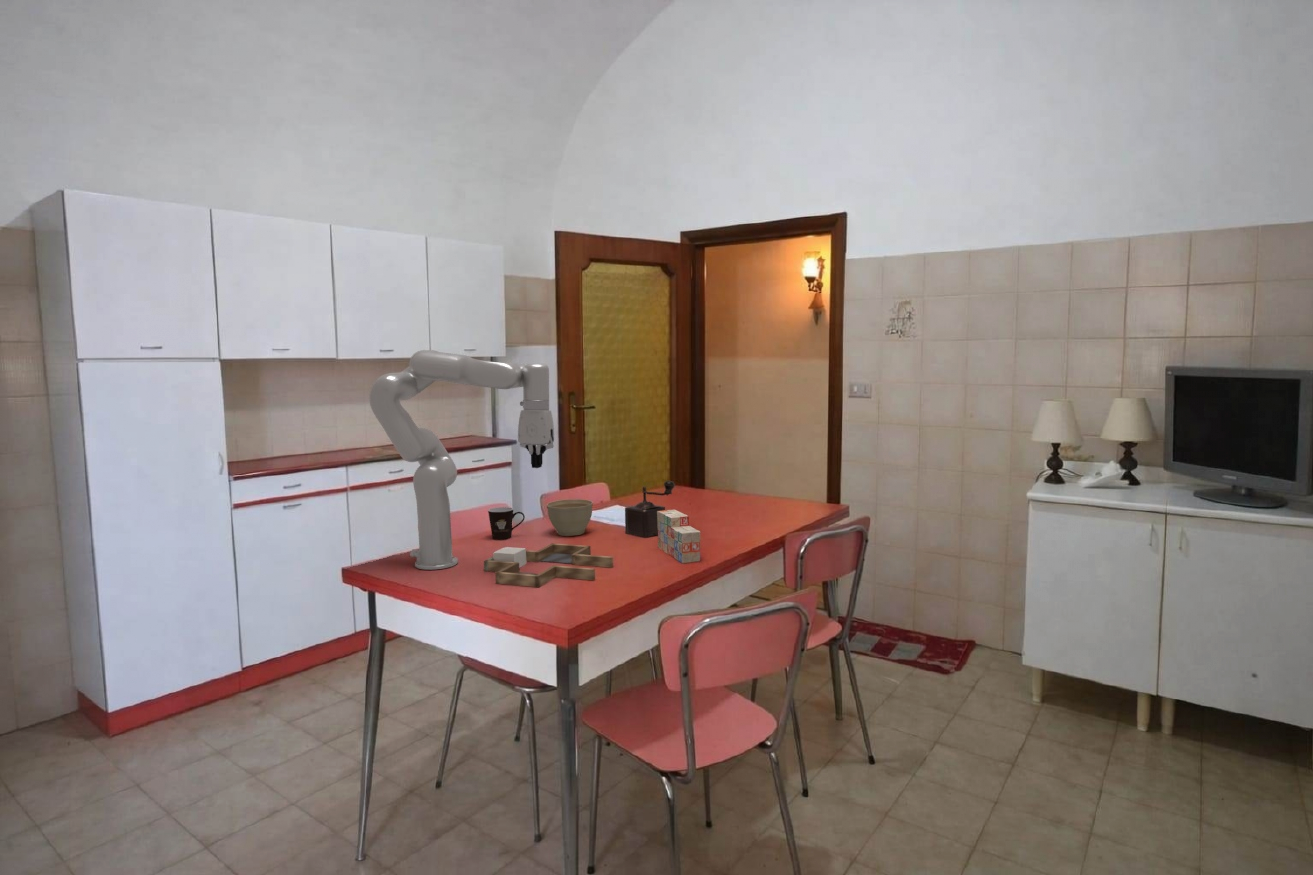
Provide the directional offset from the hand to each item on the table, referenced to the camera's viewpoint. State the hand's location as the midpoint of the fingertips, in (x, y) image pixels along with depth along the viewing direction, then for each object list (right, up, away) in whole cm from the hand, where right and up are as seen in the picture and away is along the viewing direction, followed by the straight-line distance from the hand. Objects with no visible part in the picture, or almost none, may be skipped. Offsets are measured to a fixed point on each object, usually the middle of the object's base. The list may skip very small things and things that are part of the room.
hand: (536, 467), depth 230 cm
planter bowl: (+5, -25, +43) cm, 50 cm away
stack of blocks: (+43, -28, +12) cm, 52 cm away
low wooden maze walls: (+3, -30, -2) cm, 30 cm away
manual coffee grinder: (+34, -25, +42) cm, 60 cm away
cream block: (-8, -30, +2) cm, 31 cm away
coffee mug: (-16, -26, +38) cm, 49 cm away
